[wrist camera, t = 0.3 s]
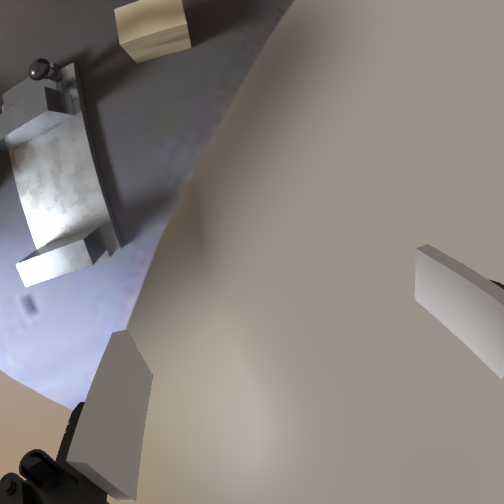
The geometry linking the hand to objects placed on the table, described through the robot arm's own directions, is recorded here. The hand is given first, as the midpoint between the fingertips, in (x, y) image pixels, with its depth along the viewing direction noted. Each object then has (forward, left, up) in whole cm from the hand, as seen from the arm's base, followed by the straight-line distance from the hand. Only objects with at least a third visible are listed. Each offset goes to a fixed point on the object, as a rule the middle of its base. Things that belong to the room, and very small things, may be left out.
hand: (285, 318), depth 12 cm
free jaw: (-21, -22, -25) cm, 39 cm away
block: (-23, -4, -27) cm, 36 cm away
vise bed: (-11, -22, -27) cm, 36 cm away
